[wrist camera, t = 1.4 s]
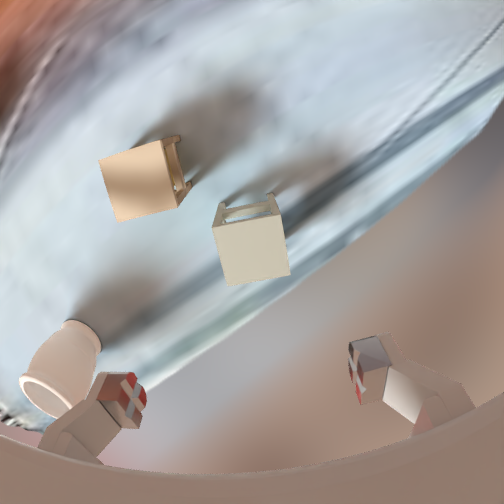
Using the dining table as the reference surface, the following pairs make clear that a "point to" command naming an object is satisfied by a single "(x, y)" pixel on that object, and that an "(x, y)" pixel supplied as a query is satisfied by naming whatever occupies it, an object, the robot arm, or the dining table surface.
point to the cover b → (251, 243)
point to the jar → (62, 369)
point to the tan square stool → (144, 179)
